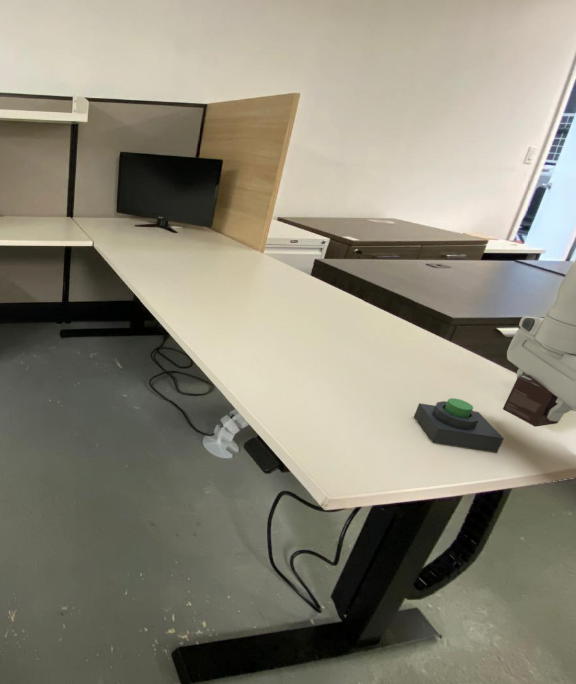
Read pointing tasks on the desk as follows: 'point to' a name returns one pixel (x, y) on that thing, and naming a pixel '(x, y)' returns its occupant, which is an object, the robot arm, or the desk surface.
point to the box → (530, 401)
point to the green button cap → (458, 408)
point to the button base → (457, 428)
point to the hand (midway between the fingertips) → (534, 405)
